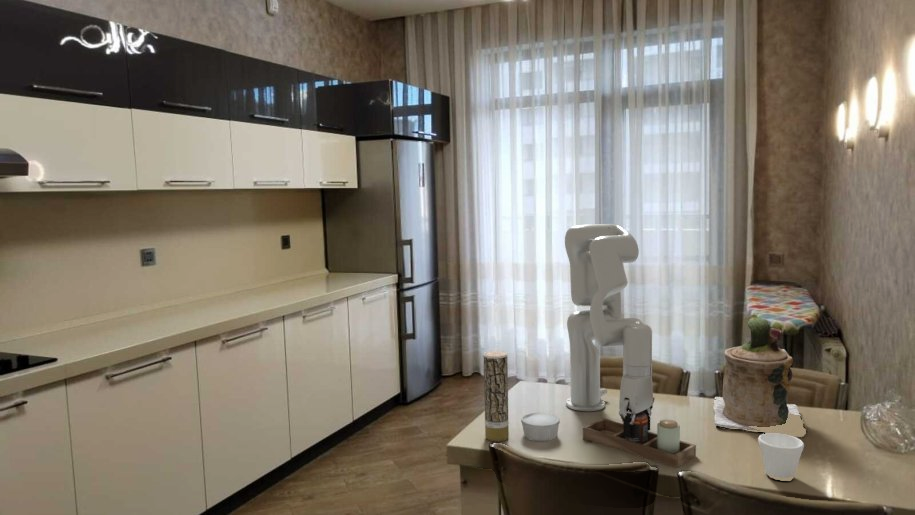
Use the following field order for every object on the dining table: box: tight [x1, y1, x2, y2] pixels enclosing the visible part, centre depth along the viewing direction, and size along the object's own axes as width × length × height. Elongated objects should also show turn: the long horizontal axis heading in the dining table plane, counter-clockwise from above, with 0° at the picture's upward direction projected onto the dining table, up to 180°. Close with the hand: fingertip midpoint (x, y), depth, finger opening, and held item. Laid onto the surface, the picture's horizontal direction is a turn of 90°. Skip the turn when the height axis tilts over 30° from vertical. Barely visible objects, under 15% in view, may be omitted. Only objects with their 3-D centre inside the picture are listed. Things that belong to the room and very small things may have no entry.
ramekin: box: [520, 412, 561, 442], centre depth 186 cm, size 11×11×5 cm
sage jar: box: [656, 418, 681, 455], centre depth 168 cm, size 6×6×9 cm
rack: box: [582, 417, 697, 469], centre depth 175 cm, size 10×29×4 cm, turn 43°
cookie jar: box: [712, 313, 804, 431], centre depth 193 cm, size 25×25×32 cm
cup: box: [757, 433, 805, 478], centre depth 156 cm, size 10×10×9 cm
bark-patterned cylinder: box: [483, 350, 510, 442], centre depth 184 cm, size 7×7×25 cm
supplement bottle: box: [626, 409, 648, 445], centre depth 175 cm, size 6×6×11 cm
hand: (637, 432), depth 175 cm, fingers open, 7 cm apart
